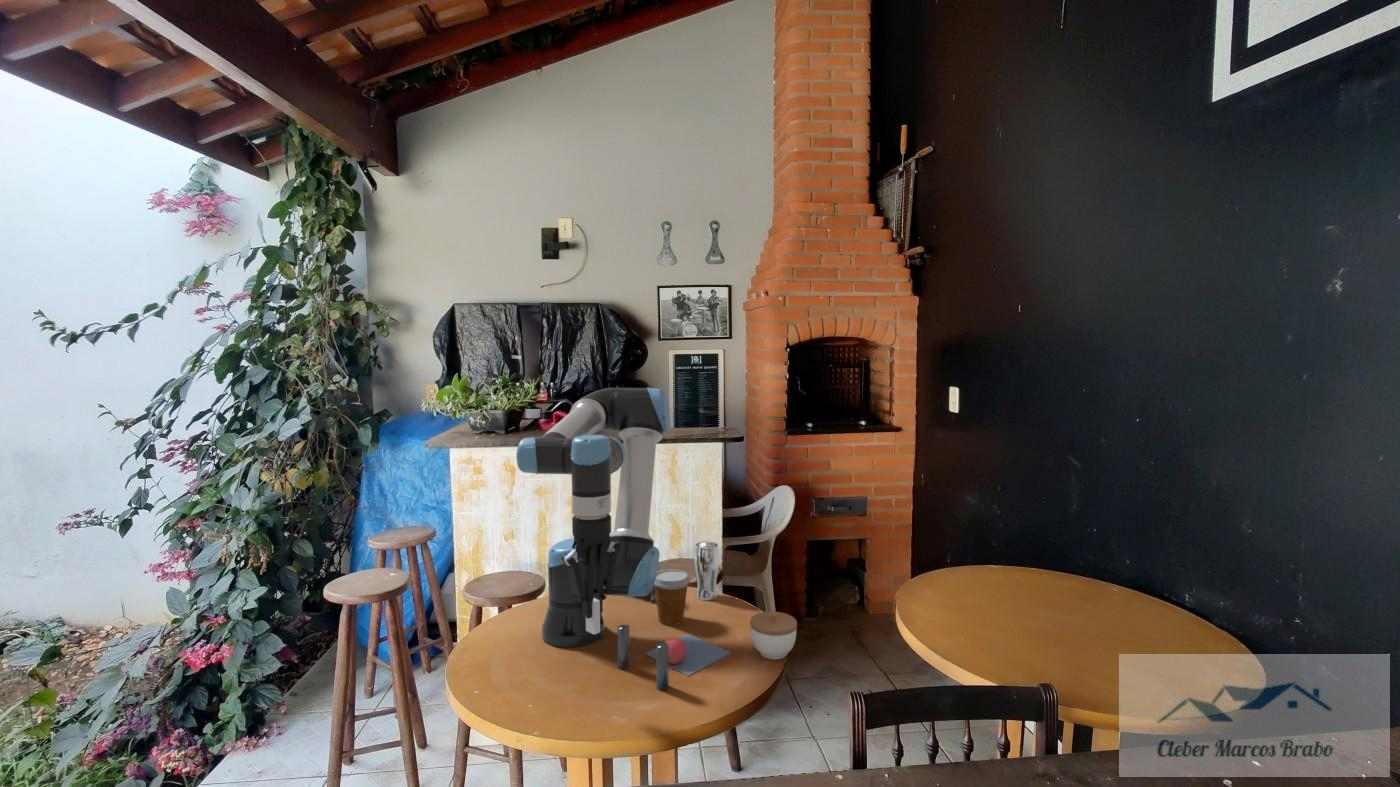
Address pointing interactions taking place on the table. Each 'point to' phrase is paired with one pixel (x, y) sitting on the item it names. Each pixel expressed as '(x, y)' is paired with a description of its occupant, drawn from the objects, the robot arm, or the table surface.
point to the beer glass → (706, 569)
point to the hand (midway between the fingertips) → (593, 631)
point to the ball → (676, 650)
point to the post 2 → (662, 666)
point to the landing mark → (695, 655)
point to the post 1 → (623, 647)
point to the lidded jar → (773, 634)
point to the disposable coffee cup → (671, 595)
